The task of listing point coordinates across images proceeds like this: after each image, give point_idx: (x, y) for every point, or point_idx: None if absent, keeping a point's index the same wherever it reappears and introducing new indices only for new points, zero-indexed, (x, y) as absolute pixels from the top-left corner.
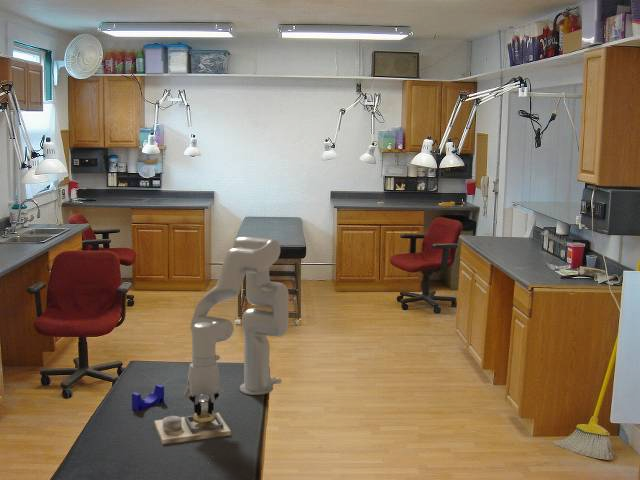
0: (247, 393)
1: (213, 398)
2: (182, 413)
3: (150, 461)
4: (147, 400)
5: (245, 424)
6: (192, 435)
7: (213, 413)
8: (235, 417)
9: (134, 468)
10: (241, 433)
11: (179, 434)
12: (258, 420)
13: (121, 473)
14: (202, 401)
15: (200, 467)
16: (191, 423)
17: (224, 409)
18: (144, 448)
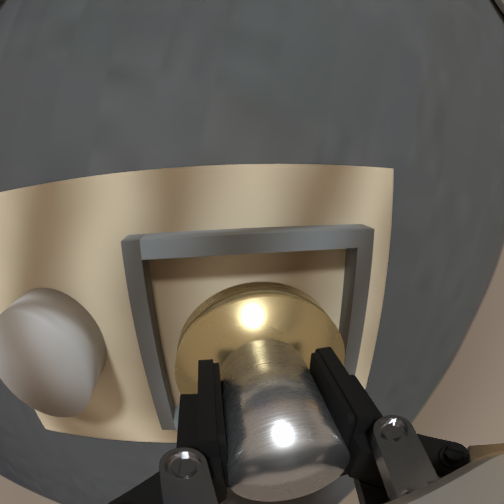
0: (499, 5)
1: (383, 493)
2: (157, 38)
3: (52, 476)
4: None
5: (446, 308)
6: (168, 439)
7: (342, 354)
8: (445, 211)
9: (29, 480)
10: (393, 391)
11: (104, 416)
12: (492, 276)
13: (14, 481)
14: (271, 483)
15: None
16: (170, 307)
17: (422, 78)
18: (5, 413)
